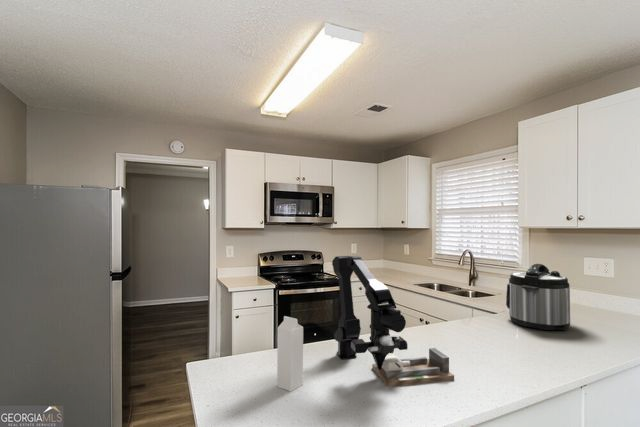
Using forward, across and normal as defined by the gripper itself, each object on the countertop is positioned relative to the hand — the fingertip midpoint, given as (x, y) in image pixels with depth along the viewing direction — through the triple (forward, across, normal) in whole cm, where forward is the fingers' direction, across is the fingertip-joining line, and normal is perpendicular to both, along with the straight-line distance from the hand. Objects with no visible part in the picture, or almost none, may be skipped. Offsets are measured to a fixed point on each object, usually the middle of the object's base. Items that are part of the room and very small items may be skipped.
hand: (379, 369), depth 115 cm
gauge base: (+2, +12, 0) cm, 12 cm away
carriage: (+1, +7, -2) cm, 7 cm away
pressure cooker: (+3, +105, +42) cm, 113 cm away
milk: (+3, -31, 0) cm, 31 cm away
